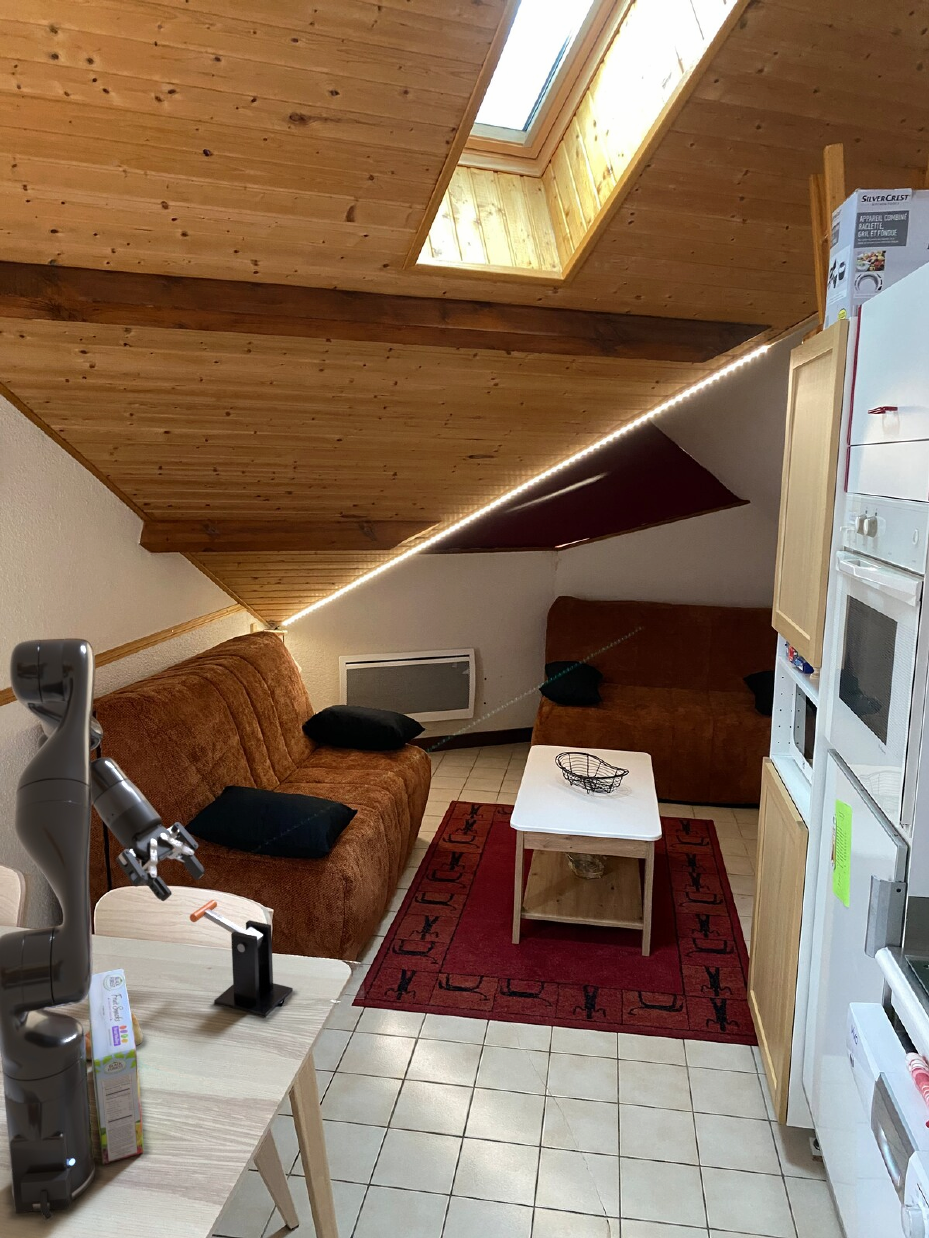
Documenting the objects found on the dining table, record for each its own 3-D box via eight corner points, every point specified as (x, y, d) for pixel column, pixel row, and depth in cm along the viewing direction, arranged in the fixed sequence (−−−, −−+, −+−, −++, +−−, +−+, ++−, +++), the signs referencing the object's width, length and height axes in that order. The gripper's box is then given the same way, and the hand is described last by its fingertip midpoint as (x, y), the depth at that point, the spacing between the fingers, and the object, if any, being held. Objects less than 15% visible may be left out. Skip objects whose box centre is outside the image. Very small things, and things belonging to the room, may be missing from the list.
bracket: (214, 1006, 149) (211, 934, 147) (243, 981, 156) (240, 912, 154) (265, 1020, 145) (263, 946, 143) (292, 994, 152) (290, 923, 150)
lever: (188, 922, 150) (191, 910, 149) (208, 907, 155) (212, 895, 154) (247, 957, 146) (250, 945, 146) (266, 941, 151) (269, 929, 151)
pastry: (83, 1070, 133) (81, 1046, 132) (70, 1048, 138) (68, 1025, 138) (146, 1045, 139) (145, 1022, 138) (131, 1025, 144) (130, 1003, 143)
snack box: (91, 1068, 134) (85, 973, 131) (132, 1058, 136) (126, 965, 133) (99, 1167, 114) (92, 1059, 112) (146, 1153, 117) (140, 1047, 114)
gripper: (108, 814, 147) (168, 893, 145) (167, 786, 160) (223, 858, 158) (85, 840, 150) (143, 917, 148) (144, 810, 163) (199, 881, 161)
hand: (184, 886), depth 153 cm, fingers open, 8 cm apart
